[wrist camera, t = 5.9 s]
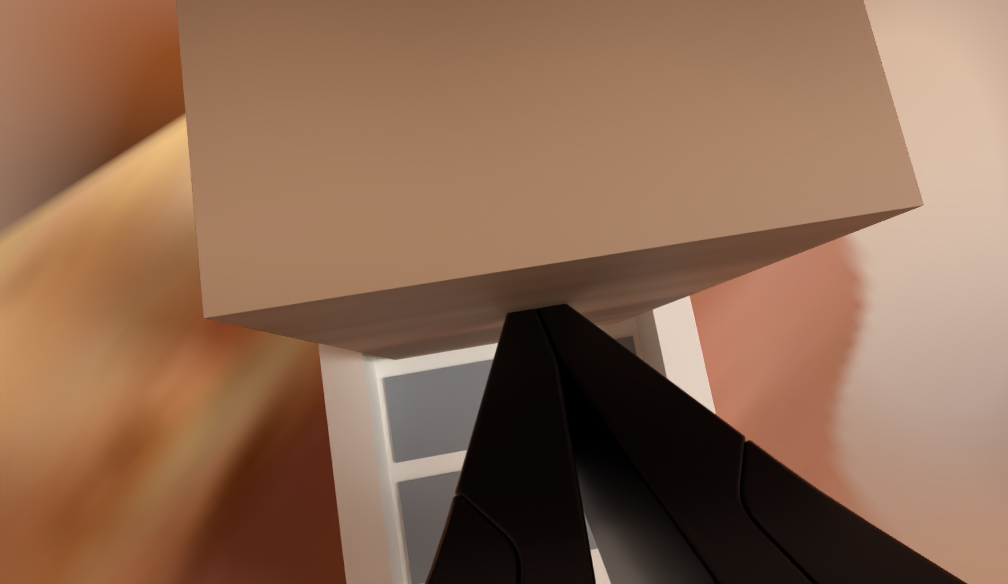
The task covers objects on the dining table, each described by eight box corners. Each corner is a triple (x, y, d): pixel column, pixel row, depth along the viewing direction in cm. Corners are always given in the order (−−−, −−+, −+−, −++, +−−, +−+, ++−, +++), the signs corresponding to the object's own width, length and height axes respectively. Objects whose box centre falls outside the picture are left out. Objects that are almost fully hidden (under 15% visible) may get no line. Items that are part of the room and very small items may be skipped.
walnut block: (618, 322, 14) (922, 204, 5) (395, 360, 14) (203, 317, 4) (590, 181, 15) (806, -190, 5) (374, 213, 15) (165, -129, 5)
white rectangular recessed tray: (753, 761, 14) (811, 841, 12) (404, 843, 14) (389, 946, 11) (624, 157, 17) (649, 119, 14) (325, 200, 16) (297, 167, 14)
